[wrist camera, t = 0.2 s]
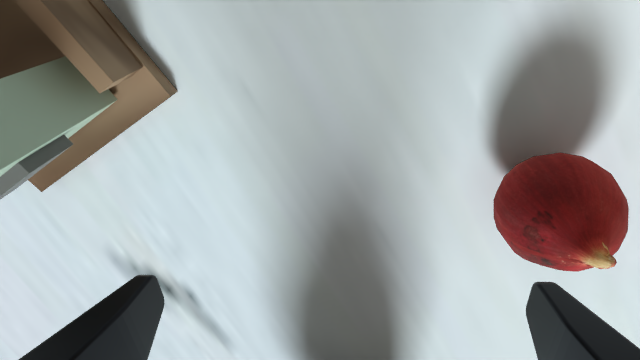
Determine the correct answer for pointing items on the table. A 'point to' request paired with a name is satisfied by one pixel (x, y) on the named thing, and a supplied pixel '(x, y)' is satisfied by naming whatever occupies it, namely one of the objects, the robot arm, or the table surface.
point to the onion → (562, 212)
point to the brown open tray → (82, 67)
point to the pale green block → (42, 117)
